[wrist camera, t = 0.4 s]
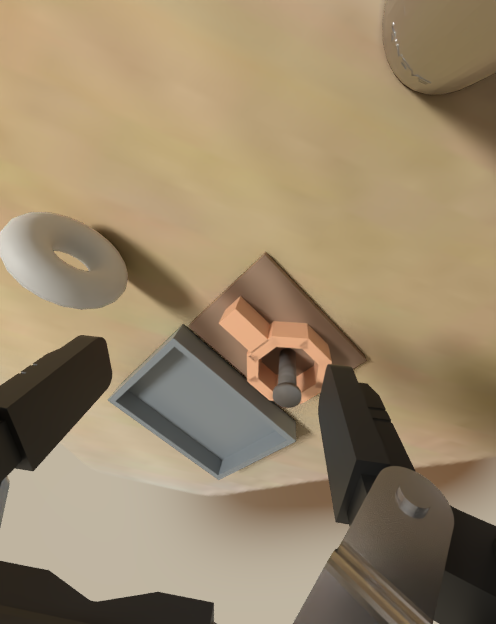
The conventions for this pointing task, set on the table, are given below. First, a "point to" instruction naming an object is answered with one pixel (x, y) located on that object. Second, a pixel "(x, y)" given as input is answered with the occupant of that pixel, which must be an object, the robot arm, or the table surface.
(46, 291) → the donut
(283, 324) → the ring
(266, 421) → the tray
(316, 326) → the panel
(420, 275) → the table surface
